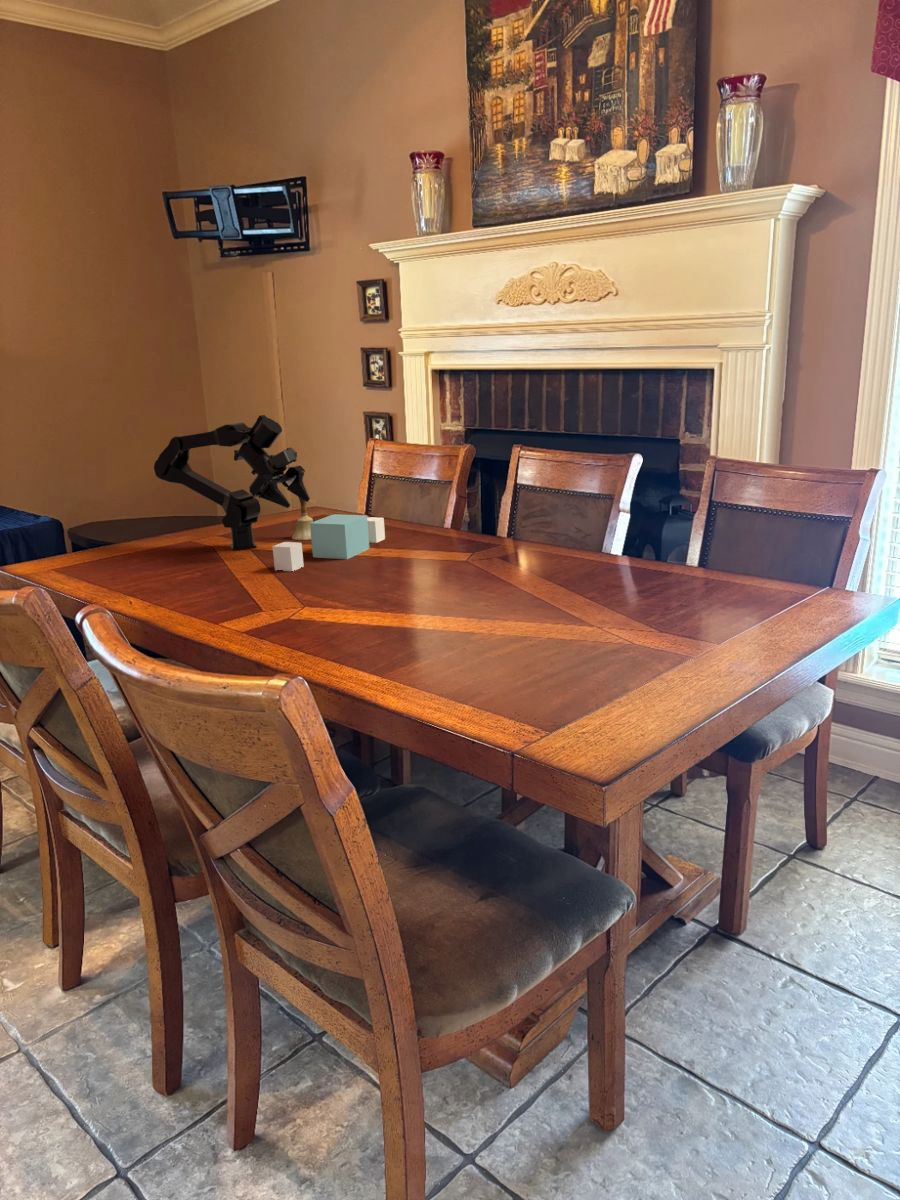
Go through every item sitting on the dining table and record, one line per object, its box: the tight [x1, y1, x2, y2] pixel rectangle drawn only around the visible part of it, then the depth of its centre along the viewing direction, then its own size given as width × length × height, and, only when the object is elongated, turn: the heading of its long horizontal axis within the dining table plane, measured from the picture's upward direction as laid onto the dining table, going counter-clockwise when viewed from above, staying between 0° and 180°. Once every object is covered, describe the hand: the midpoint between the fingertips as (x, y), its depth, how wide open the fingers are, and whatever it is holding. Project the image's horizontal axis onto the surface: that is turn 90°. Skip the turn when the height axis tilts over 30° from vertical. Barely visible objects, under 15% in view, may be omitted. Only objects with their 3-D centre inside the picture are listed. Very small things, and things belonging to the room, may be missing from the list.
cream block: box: [367, 516, 386, 544], centre depth 233 cm, size 5×5×6 cm
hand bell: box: [291, 480, 314, 541], centre depth 239 cm, size 8×8×16 cm
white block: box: [271, 541, 305, 572], centre depth 206 cm, size 5×5×6 cm
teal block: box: [310, 513, 370, 560], centre depth 219 cm, size 10×12×9 cm
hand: (299, 503), depth 222 cm, fingers open, 9 cm apart
